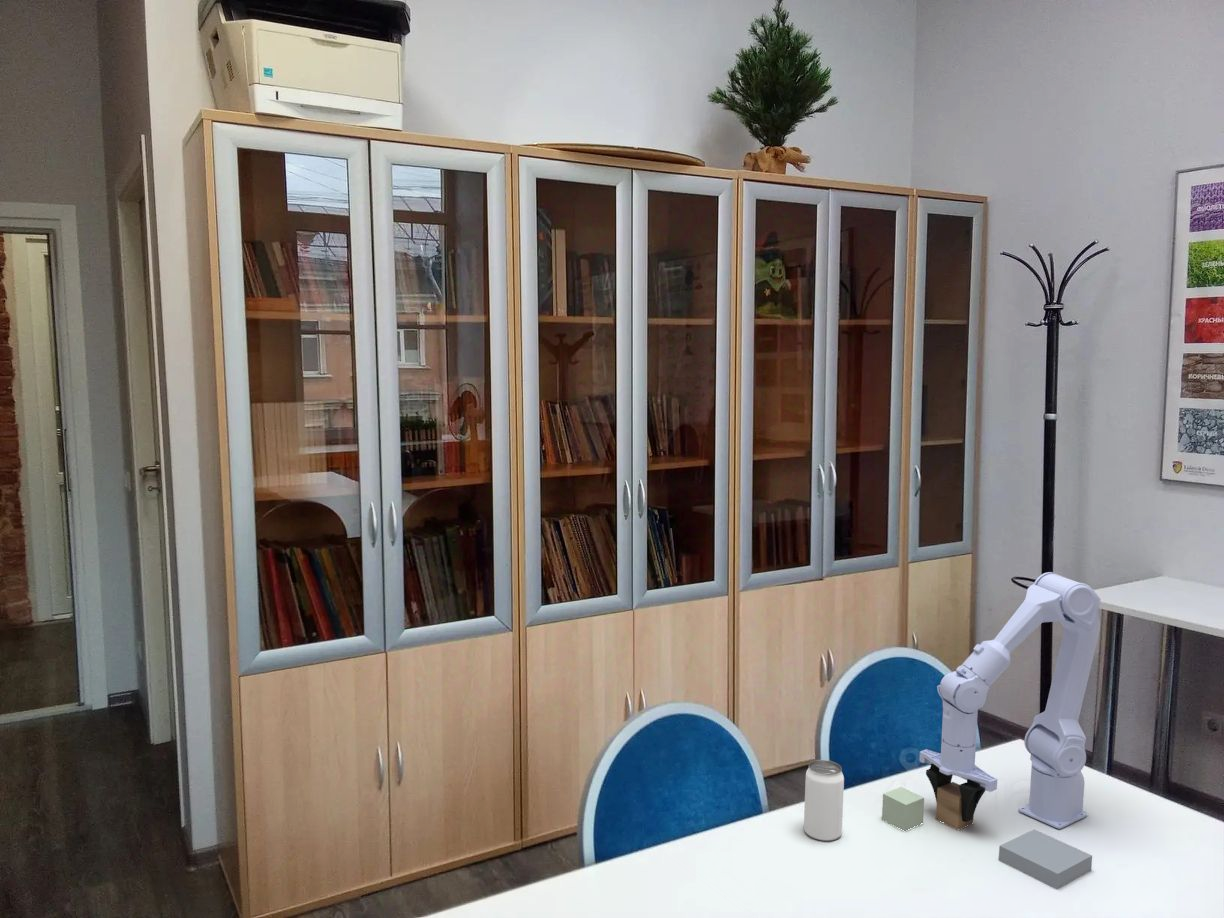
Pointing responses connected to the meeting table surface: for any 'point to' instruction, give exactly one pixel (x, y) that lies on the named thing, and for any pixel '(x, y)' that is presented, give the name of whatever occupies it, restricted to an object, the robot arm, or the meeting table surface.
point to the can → (824, 800)
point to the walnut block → (950, 806)
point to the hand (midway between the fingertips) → (954, 814)
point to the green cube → (903, 808)
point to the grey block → (1045, 858)
